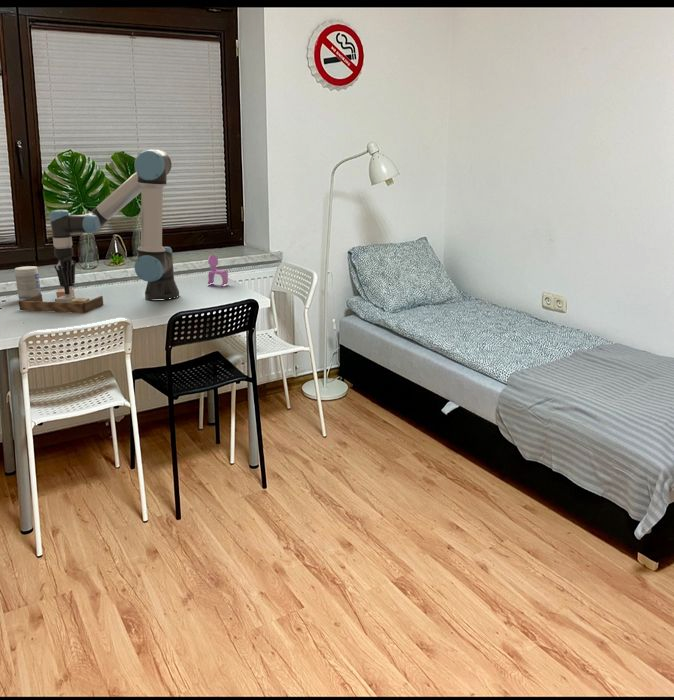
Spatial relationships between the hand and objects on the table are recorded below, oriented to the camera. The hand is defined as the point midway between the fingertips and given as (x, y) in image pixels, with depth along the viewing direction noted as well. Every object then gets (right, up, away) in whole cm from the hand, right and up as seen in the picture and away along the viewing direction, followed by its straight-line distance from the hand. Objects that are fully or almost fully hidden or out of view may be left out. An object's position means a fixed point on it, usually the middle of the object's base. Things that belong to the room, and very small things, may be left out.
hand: (69, 301), depth 302 cm
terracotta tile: (-6, +2, +12) cm, 14 cm away
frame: (-1, -3, -6) cm, 6 cm away
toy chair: (+58, +10, +37) cm, 70 cm away
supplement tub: (-21, +1, +10) cm, 24 cm away
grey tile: (0, -3, -3) cm, 4 cm away
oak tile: (+7, -4, -7) cm, 11 cm away
